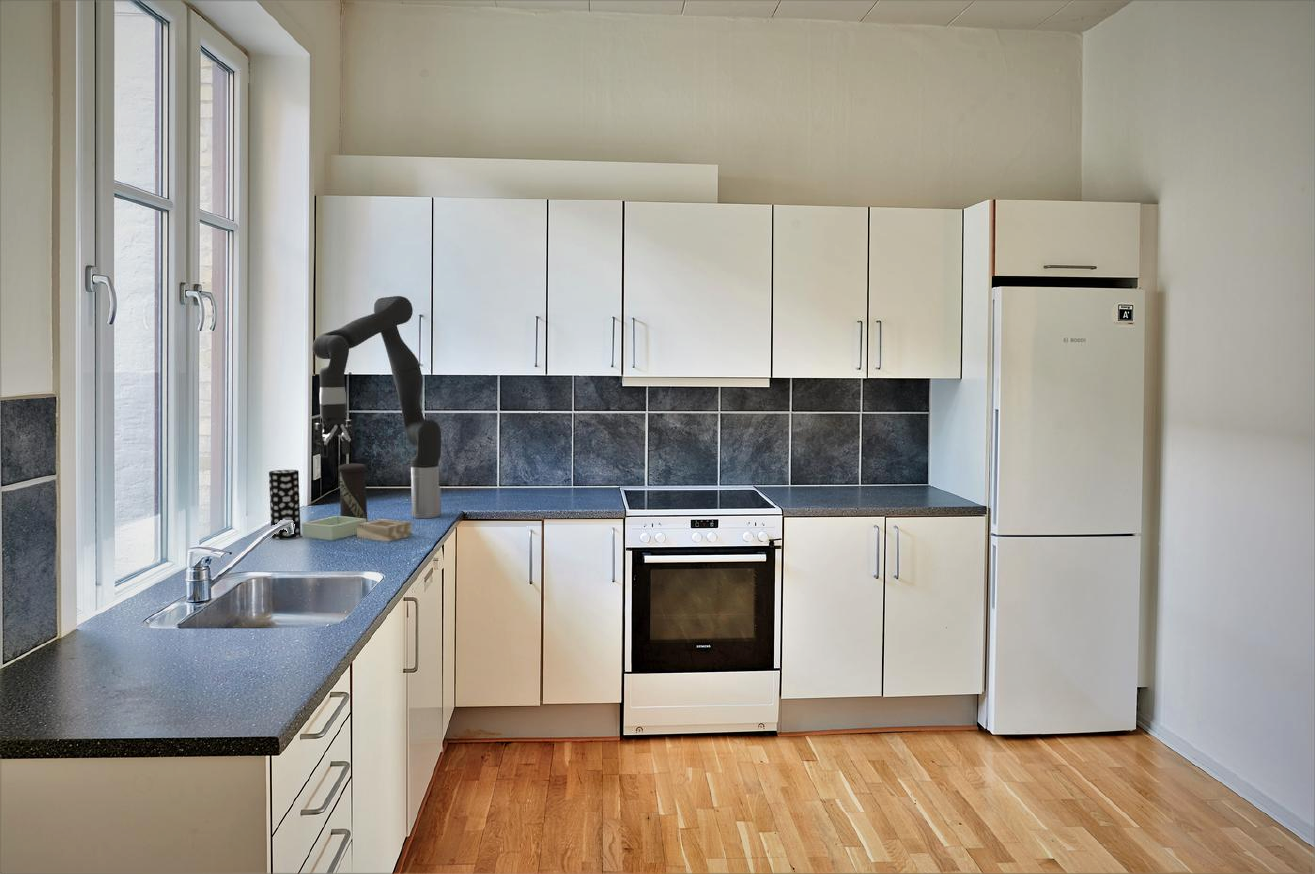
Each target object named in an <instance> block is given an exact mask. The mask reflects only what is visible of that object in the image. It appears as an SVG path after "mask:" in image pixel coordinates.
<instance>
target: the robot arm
mask: <svg viewBox="0 0 1315 874" xmlns="http://www.w3.org/2000/svg"><path fill="white" fill-rule="evenodd" d="M413 311H414V309H413V305H412V302H411V301H410V300H409V299H408V298H407V297H406V296H403V295H402V296H401V295H394V296H388V297H387V296H386V297H380V298H378V299H376V300H375V302H374V306H373V313H371V314H368V315H365V316H363V317H360V318H357V319H355V320H352V321H351V322H348V323H347V324H345V325H344V326H342V327H340V328H337V329H334V330H331V331H327V332H325V333H323V334H320V335H319V336H318V337H316V338H315V339H314V341H313V343H312V347H311V349H312V353H313V354H314V355H315V357H316V358H319V359H322V360H329V362H328V366H326V367H323V368H321V369H320V370H319V413H320V418H321V419H322V422H320V423H319V422H314V423H313V444H317V445H319V454H320V457H321V458H323V459H324V458H325V459H326V458H328V457H329V445H328V443H329V441H330V440H332V438H333V437H339V438H340V440H341V441H342V442H341V448H342V449H341V451H342V455H349V454H350V452H351V441H352V440H355V439H356V433H355V432H356V431H355V423H354V422H355V421H354V419H346V418H347V416H348V411H347V393H346V384H345V383H346V382H345V372H346V368H347V364H348V359H349V353H350V349H353V348H356V347H357V346H359V345H361V344H362V343H364V342H365V341H368V340H369V339H371V338H372V337H374V336H376V335H378V334H380V335H381V338H382V341H383V343H384V346H385V350H386V353H387V357H388V361H389V365H390V369H391V374H392V377H393V382H394V385H395V387H396V392H397V396H398V401H399V404H400V409H401V416H402V421H403V429H404V435H405V437H406V439H407V441H408V442H409V444H411V445H413V446H417V452H416V454H415V456H413V457H412V458H411V459H410V490H411V491H410V493H411V496H410V497H411V517H412V518H414V519H431V518H432V519H433V518H437V517H439V516H441V515H442V488H441V486H440V478H439V477H440V475H439V474H440V472H439V470H440V469H439V461H440V459H441V455H442V430H441V427H440V425H439V423H438V422H437V421H435V420H432V419H425V417H424V415H423V410H422V405H421V396H422V390H423V383H424V379H423V374H422V369H421V367H420V362H419V360H418V358H417V357H416V355H415V354H414V353H413V351H412V350H411V349H410V348H409V347H408V345H406V343H405V341H404V340H403V338H402V337H401V334H400V332H399V328H398V326H399V325H404V324H406V323H407V322H409V321H410V320H411V318H412V316H413Z"/></svg>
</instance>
